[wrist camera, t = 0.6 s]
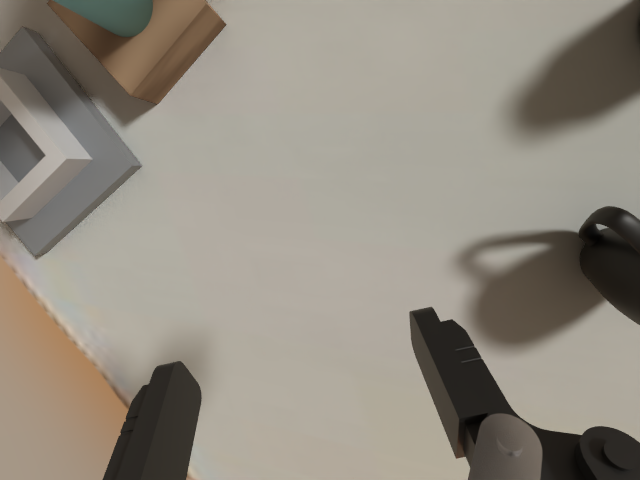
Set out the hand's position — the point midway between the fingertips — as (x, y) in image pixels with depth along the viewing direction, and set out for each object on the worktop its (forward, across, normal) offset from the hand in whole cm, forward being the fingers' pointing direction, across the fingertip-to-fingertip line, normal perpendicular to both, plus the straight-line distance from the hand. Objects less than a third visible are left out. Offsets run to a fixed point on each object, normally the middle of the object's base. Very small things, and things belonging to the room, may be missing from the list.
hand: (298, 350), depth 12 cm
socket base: (+30, +26, -3) cm, 40 cm away
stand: (+31, +10, -11) cm, 35 cm away
